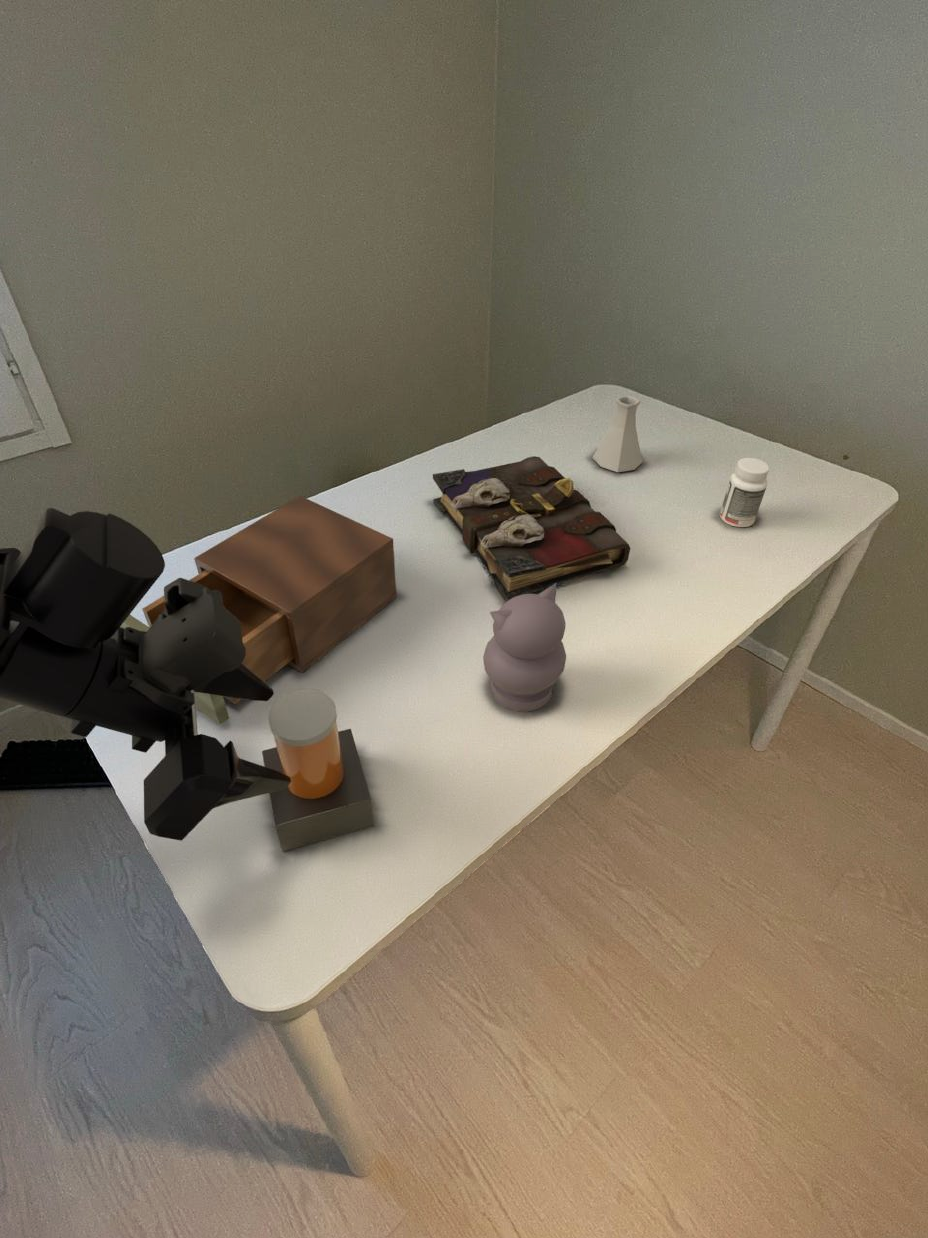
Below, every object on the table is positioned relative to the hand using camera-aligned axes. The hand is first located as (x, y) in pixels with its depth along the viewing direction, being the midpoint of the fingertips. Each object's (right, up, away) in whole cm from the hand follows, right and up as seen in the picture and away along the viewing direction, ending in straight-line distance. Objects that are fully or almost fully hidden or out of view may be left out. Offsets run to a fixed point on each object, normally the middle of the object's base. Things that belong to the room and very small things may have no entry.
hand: (278, 737), depth 56 cm
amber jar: (+2, -4, +4) cm, 6 cm away
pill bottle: (+53, +23, +42) cm, 71 cm away
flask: (+38, +34, +53) cm, 74 cm away
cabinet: (-4, +11, +26) cm, 29 cm away
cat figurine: (+21, +2, +18) cm, 27 cm away
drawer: (-11, +5, +18) cm, 22 cm away
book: (+23, +21, +38) cm, 49 cm away
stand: (+2, -7, +7) cm, 10 cm away
